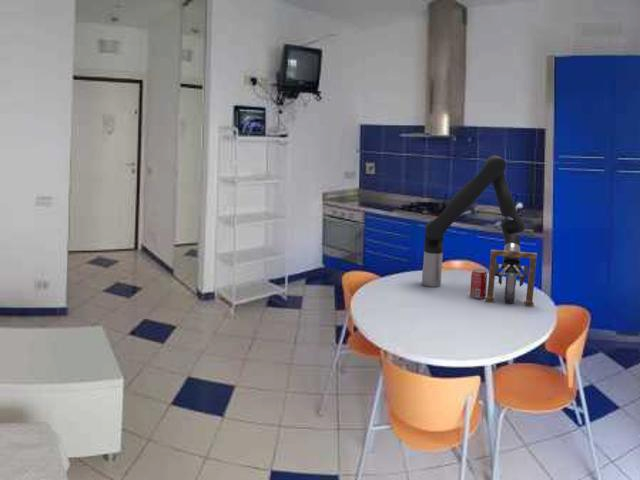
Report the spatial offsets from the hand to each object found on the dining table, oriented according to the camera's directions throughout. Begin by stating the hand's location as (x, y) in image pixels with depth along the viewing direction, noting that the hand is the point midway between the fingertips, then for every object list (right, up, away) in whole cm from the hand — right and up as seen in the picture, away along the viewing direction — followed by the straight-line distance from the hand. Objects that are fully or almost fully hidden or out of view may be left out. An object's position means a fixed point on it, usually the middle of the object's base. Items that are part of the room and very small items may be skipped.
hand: (510, 284), depth 241 cm
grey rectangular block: (0, -8, +2) cm, 9 cm away
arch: (0, -9, +2) cm, 9 cm away
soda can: (-12, -7, +10) cm, 17 cm away
